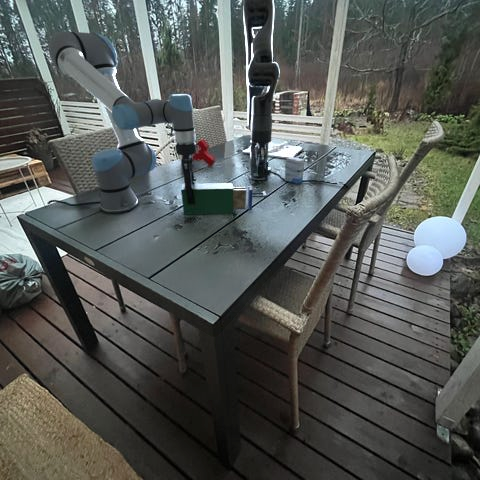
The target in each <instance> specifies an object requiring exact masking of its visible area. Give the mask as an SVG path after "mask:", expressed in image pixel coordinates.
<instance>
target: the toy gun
mask: <svg viewBox="0 0 480 480" xmlns="http://www.w3.org/2000/svg"><path fill="white" fill-rule="evenodd" d="M209 148H210V145H209V144H208V142H207V141H206V140H205V139H204V138H202V139H200V140H198V141H197V142H196V150H197V152H196V153H195V154H193V155H192V157H193V162H194V161H195V160H196V162H200V161H204V162H205V163H206V164H207V165H208V167H210V166H212V165H214V164H215V163H216V162H215V161H216V158H215V156H213V155H212V154H210V153H209V152H208V149H209ZM182 157H183V156H182V155H181V158H182Z"/></svg>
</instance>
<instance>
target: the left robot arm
mask: <svg viewBox="0 0 480 480" xmlns="http://www.w3.org/2000/svg"><path fill="white" fill-rule="evenodd" d="M48 54H49V57H50V59H51V61H52V63H53V65H54V66H55V67H56V68H57V69H58V70H59V71H60V72H61V73H62V74H63V75H65V77H70V78H72V79H73V80H75V81H76V82H77V83H78V84H79V85H80V86H81V87H82V88H83V89H85V90H86V92H88V93H89V94H91V95H92V96H93V97H94V98H95V99H96V100H97V101H98V102H100V103H101V104H102V106H103V108H104V110H105V113H106V115H107V118H108V120H109V123H110V124H111V127H112V129H113V132H114V134H115V137H116V139H117V141H118V145H117V147H115V148H114V147H113V148H109V149H103V150H100V151H98V152H96V153H94V154H93V155H92V158H91V164H92V170H93V171H94V174H95V177H96V180H97V183H98V187H99V190H100V200H99V201H89V202H80V203H69V202H68V201H63V200H58V199H51V200H49V201H47V203H46V204H47V205H50V204H51V203H59V204H65V205H67V206H69V207H79V206H86V205H87V206H88V205H96V204H97V205H99V204H100V209H101V211H102V212H103V213H106V214H111V215H113V214H114V215H117V214H122V213H126V212H130V211H132V210H134V209H136V208H137V207H138V205H139V200H138V197H137V196H136V194H135V193H134V190H132V188H131V185H130V181H129V180H131V179H133V178H137V177H139V176H142V175H145V174H148V173H149V172H152V171H154V169H155V168H156V166H157V155H156V152H155V150H154V148H153V147H152V146H151V145H149V144H148V143H146V141H145V139H143V138H142V137H140V136H139V133H138V131H137V129H140V128H145V127H149V126H154V125H159V124H170V125H172V130H173V132H172V133H171V135H172V136H174V142H175V143H174V146H175V153H176V154H177V155H179V156H181V167H182V171H183V172H182V173H183V180H184V184H185V188H184V190H186V193H187V200H188V204H195V199H194V190H193V187H192V184H196V182H197V178H196V177H195V171H194V161H193V157H192V155H193V154H195V153H196V152H197V150H196V144H197V142H196V140H197V139H196V129H195V121H194V107H193V101H192V96H191V95H189V94H187V93H176V94H175V93H173V94H170V95H169V96H168V99H159V98H153V99H148V100H147V101H139V102H135V101H134V100H133V99H132V98H130V97H129V96H128V95H127V94H125V92H123V91H122V90H121V89H120V86H119V84H118V81H117V79H116V78H117V77H116V73H117V66H118V63H119V62H118V54H117V51H116V48H115V46H114V45H113V43H112V42H111V40H110V39H109V38H108V37H106V36H105V35H103V34H100V33H95V32H82V31H81V32H80V31H69V30H60V31H58V32H56V33H54V34H53V35H52V36H51V37H50V39H49V41H48ZM182 156H183V157H182Z"/></svg>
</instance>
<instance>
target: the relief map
mask: <svg viewBox="0 0 480 480" xmlns="http://www.w3.org/2000/svg"><path fill="white" fill-rule="evenodd" d="M302 147H303V146H294V145H292V144H290V143H289V142H288V141H284V142H282V143H280V144H279V143H278V142H276V141H273V140H272V139H271V142H269V145H268V157H271V158H277V159H285V160H286V159H287V158H289V157H296V156H297V155H298V154H299V153H300V152H302V151H303V150H304V148H303V149H302ZM250 148H251V145H250V146H249V147H248V148H247V149H245V150H242V153H243V154H247V155H248V154H249V155H250ZM296 153H297V154H296Z"/></svg>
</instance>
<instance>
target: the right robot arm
mask: <svg viewBox="0 0 480 480" xmlns="http://www.w3.org/2000/svg"><path fill="white" fill-rule="evenodd" d="M242 7H243V10H242V12H243V25H244V26H243V27H244V36H245V37H244V38H245V52H246V53H245V54H246V65H245V66H246V87H247V128H248V130H249V131H250V146H251V148H250V154H249V157H250V158H249V160H250V161H249V165H250V166H249V167H250V168H249V178H250V180H253V181H256V182H257V181H265V180H268V179H269V177H270V176H271V174H273V175H275V176H277V177H278V178H279V179H280V180H282V181H285V177H282V176H281V175H280V174H279V173H277V172H276V171H272V167H269V156H268V145H269V142H271V140H272V133H273V132H272V131H273V104H274V103H273V101H274V96H275V92H276V89H277V85H278V83H279V80H280V79H279V78H280V73H281V72H280V71H281V70H280V67H279V64H278V63H277V62H275V61H274V62H273V57H274V54H273V33H274V22H275V21H274V20H275V3H274V0H243V6H242ZM253 29H259V30H258V31H256V33H255V34H254V30H253ZM266 88H267V89H266ZM265 90H266V91H265ZM264 91H265V92H264ZM317 180H318V179H305V180H304V179H303V180H302V181H301V183H313V182H314V183H323V184H329V185H338V184H337V183H336V182H335V183H330V182H331V181H327V182H325V181H326V180H321V181H317ZM285 182H286V181H285ZM338 182H339V181H338ZM339 183H344V182H342V181H340V182H339ZM342 185H343V186H344V187H346V188H348V187H349V186H348V184H346V183H345V184H342Z"/></svg>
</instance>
